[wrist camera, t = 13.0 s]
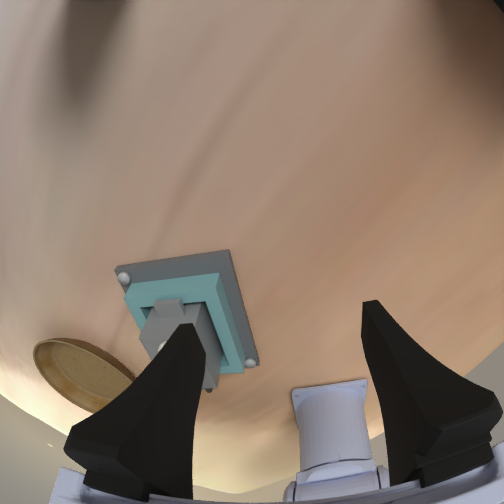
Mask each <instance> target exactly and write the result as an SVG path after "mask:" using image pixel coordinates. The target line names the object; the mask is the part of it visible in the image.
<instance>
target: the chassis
mask: <svg viewBox="0 0 504 504" xmlns="http://www.w3.org/2000/svg"><path fill="white" fill-rule="evenodd" d="M114 271H115V273H116V275H117V279H118V281H119V282H120V283H121V285H122V287H123V290H124V292H125V296H124V300H125V302H126V304H127V306H128V308H129V310H130V312H131V313H132V315H133V317H134V319H135V321H136V323H137V325H138V327H139V328H140V330H141V332H142V329H143V327H144V325H145V322H146V320H147V318H148V315H149V313H150V311H151V308H152V306H153V304H154V302H155V301H156V300H166V299H176V298H181V300H182V303H192V302H202V301H206V304H207V307H208V310H209V312H210V315H211V318H212V321H213V323H214V326H215V329H216V331H217V334H218V337H219V339H220V342H221V345H222V347H223V353H222V360H221V367H220V373H219V374H229V373H244V368H245V367H247V368H254V367H255V366H258V365H259V361H260V360H259V357H258V353H257V350H256V346H255V343H254V339H253V335H252V332H251V328H250V325H249V321H248V317H247V314H246V310H245V306H244V303H243V299H242V295H241V291H240V288H239V284H238V280H237V276H236V273H235V269H234V265H233V261H232V258H231V254H230V250H222V251H215V252H208V253H202V254H195V255H188V256H181V257H174V258H168V259H161V260H154V261H148V262H141V263H134V264H128V265H121V266H117V267H116V269H115V270H114Z"/></svg>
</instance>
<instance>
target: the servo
mask: <svg viewBox="0 0 504 504" xmlns="http://www.w3.org/2000/svg"><path fill="white" fill-rule="evenodd" d="M185 323H193V325H194V327H195V329H196V332H197V334H198V336H199V339H200V341H201V343H202V346H203V348H204V350H205V352H206V364H205V375H204V380H203V385H202V389H205V390H206V392H208V393H211V392H212V388H217V387H218V380H219V373H220V367H221V360H222V353H223V347H222V345H221V342H220V339H219V337H218V334H217V331H216V329H215V326H214V323H213V321H212V318H211V315H210V312H209V310H208V307H207V304H206V301H202V302H192V303H182V300H181V298H176V299H166V300H156V301H155V302H154V304H153V306H152V308H151V311H150V313H149V315H148V318H147V320H146V322H145V325H144V327H143V329H142V332H141V334H140V336H139V339H140V341H141V343H142V344H143V346H144V348H145V350H146V351H147V353H148V355H149V356H150V358H151V360H153V359H154V357H155V356H156V355H157V354H158V352H159V351H160V350H161V348H162V347H163V346H164V344H165V343H166V342H167V340H168V339H169V338H170V336H171V335H172V334H173V332H174V331H175V330H176V328H177V327H178V326H179V324H185Z"/></svg>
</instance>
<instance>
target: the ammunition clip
mask: <svg viewBox="0 0 504 504" xmlns="http://www.w3.org/2000/svg"><path fill="white" fill-rule="evenodd" d="M493 1H494V2H495V3H496V4H497V5H498V6H499V8H500V9H501V10H502V11H503V12H504V0H493Z"/></svg>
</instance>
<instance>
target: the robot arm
mask: <svg viewBox="0 0 504 504" xmlns="http://www.w3.org/2000/svg"><path fill="white" fill-rule="evenodd" d="M361 339H362V344H363V349H364V353H365V358H366V361H367V364H368V367H369V370H370V373H371V376H372V380H373V383H374V386H375V389H376V392H377V395H378V399H379V403H380V407H381V412H382V418H383V424H384V431H385V438H386V445H387V455H388V466H389V470H388V469H387V468H385V467H384V466H383V465H380V466H377V472H376V466H375V460H374V459H373V458H372V452H371V446H370V440H369V435H368V429H367V424H366V419H365V413H364V402H365V396H366V390H367V384H368V382H367V380H366V379H360V380H354V381H348V382H342V383H335V384H329V385H322V386H314V387H306V388H297V389H293V390H292V391H291V394H292V400H293V405H294V410H295V416H296V421H297V427H298V429H299V443H300V472H298V473H296V481H292V482H290V484H289V485H288V486H287V487H286V489H285V491H284V495H283V502H278V503H277V502H275V503H233V502H232V503H231V502H214V501H201V500H193V489H192V488H193V485H192V456H193V438H194V426H195V419H196V413H197V408H198V404H199V399H200V394H201V390H202V385H203V380H204V375H205V364H206V352H205V350H204V348H203V346H202V343H201V341H200V339H199V336H198V334H197V332H196V329H195V327H194V325H193V323H185V324H179V326H178V327H177V328H176V330H175V331H174V332H173V334H172V335H171V336H170V338H169V339H168V340H167V342H166V343H165V344H164V346H163V347H162V348H161V350H160V351H159V352H158V354H157V355H156V356H155V357H154V359H153V360H152V361H151V362H150V364H149V365H148V366H147V367H146V368H145V369H144V371H143V372H142V373H141V374H140V375H139V376H138V377H137V378H136V379H135V380H134V381H133V382H132V383H131V384H130V385H129V386H128V387H127V388H126V389H125V390H124V391H123V392H122V393H121V394H119V395H118V396H117V397H116V398H115V399H113V400H112V401H111V402H110V403H109V404H107V405H106V406H104V407H103V408H102V409H100V410H99V411H97V412H96V413H94V414H93V415H91V416H90V417H88V418H86V419H84V420H83V421H81V422H79V423H77V424H76V425H74V426H72V428H71V430H70V433H69V435H68V438H67V440H66V443H65V446H64V451H65V453H66V454H67V456H69V457H70V458H71V459H72V460H74V461H75V462H77V463H78V464H79V465H81V466H82V467H83V468H85V469H86V470H87V471H86V474H85V475H84V474H82V473H80V472H77V471H74V470H71V469H68V468H65V467H61V468H60V471H59V474H58V477H57V480H56V483H55V486H54V489H53V492H52V495H51V499H50V502H49V504H500V503H502V502H504V441H502V442H500V443H498V444H496V445H495V446H493V447H492V448H491V446H490V443H489V442H490V441H491V440H492V437H491V435H490V431H491V430H492V429H493V427H494V426H495V425H496V424H497V423H498V422H499V420H500V418H501V417H502V414H503V410H502V408H501V406H500V403H499V401H498V399H497V397H496V396H495V394H494V392H492V391H490V390H488V389H486V388H483V387H481V386H479V385H476V384H474V383H473V382H471V381H469V380H467V379H465V378H463V377H462V376H460V375H458V374H457V373H455V372H454V371H452V370H451V369H449V368H447V367H446V366H444V365H443V364H442V363H440V362H439V361H438V360H436V359H435V358H434V357H433V356H431V355H430V354H429V353H428V352H426V351H425V350H424V349H423V348H422V347H421V346H420V345H419V344H418V343H417V342H415V341H414V340H413V339H412V338H411V337H410V336H409V335H408V334H407V333H406V332H405V331H404V330H403V328H402V327H401V326H400V325H399V324H398V323H397V322H396V321H395V320H394V319H393V318H392V316H391V315H390V314H389V313H388V312H387V311H386V309H385V308H384V307H383V306H382V305H381V303H380V302H379V301H378V300H372V301H366V302H363V308H362V328H361Z"/></svg>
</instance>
